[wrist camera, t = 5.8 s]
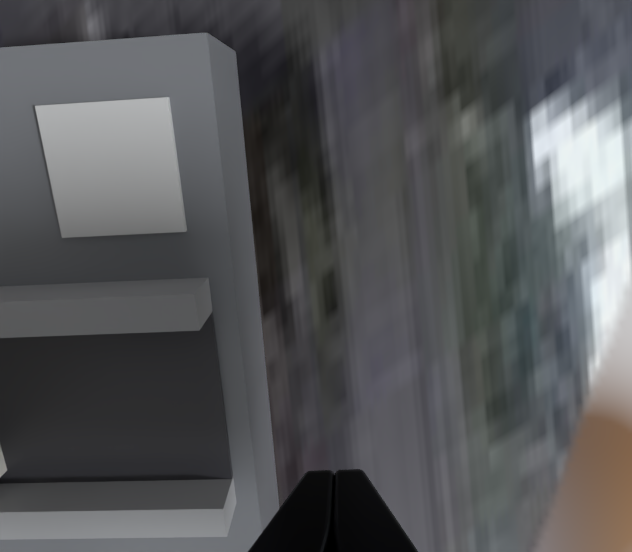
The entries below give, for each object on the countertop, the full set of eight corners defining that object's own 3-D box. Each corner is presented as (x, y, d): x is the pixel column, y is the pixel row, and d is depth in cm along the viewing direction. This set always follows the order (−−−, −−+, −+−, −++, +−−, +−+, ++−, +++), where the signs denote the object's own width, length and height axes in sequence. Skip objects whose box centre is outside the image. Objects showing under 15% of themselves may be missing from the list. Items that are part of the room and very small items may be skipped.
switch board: (284, 563, 15) (268, 689, 12) (-8, 566, 16) (-102, 687, 12) (235, 51, 11) (190, 22, 8) (-155, 79, 12) (-354, 62, 8)
